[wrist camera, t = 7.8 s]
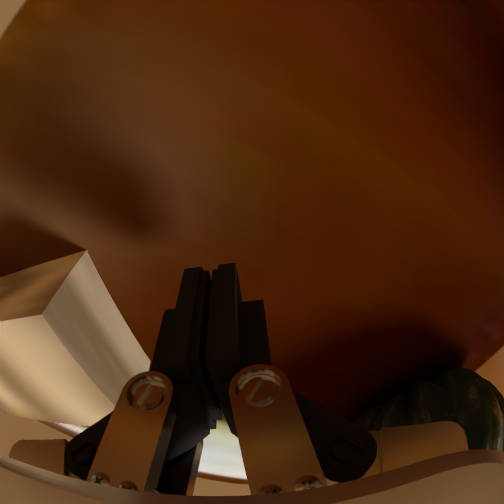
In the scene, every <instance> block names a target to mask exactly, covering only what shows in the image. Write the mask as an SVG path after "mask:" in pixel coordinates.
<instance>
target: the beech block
mask: <svg viewBox="0 0 504 504" xmlns="http://www.w3.org/2000/svg"><path fill="white" fill-rule="evenodd" d="M149 367H150V360H149V359H148V357H147V356H146V354H145V353H144V351H143V350H142V348H141V346H140V345H139V343H138V342H137V340H136V339H135V337H134V335H133V334H132V332H131V331H130V329H129V327H128V326H127V324H126V322H125V321H124V319H123V317H122V316H121V314H120V312H119V310H118V309H117V307H116V305H115V303H114V302H113V300H112V298H111V296H110V295H109V293H108V291H107V289H106V287H105V285H104V283H103V282H102V280H101V278H100V276H99V274H98V272H97V270H96V268H95V266H94V264H93V262H92V260H91V258H90V256H89V254H88V252H87V250H85V251H82V252H79V253H75V254H72V255H69V256H65V257H62V258H59V259H55V260H52V261H49V262H46V263H42V264H39V265H36V266H33V267H30V268H27V269H24V270H21V271H18V272H15V273H11V274H8V275H5V276H2V277H0V409H1V410H2V411H3V412H5V413H6V414H9V415H14V416H19V417H25V418H30V419H36V420H42V421H49V422H57V423H65V424H74V425H86V426H92V425H93V424H95V423H96V422H98V421H99V420H100V419H102V418H103V417H105V416H106V415H108V414H109V413H111V412H112V411H113V410H114V408H115V406H116V403H117V401H118V398H119V396H120V394H121V391H122V389H123V387H124V386H125V384H126V383H127V382H128V381H129V380H130V379H131V378H132V377H133V376H135V375H137V374H139V373H142V372H146V371H149Z"/></svg>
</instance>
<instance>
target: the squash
mask: <svg viewBox="0 0 504 504" xmlns="http://www.w3.org/2000/svg"><path fill="white" fill-rule="evenodd" d="M440 421H452V422H455V423H457V424H459V425H460V426H461V427H462V428H463V429H464V432H465V434H466V438H467V444H468V450H497V451H501V452H504V398H503V396H502V394H500V392H499V391H498V390H497V388H496V387H495V386H494V385H493V384H492V383H491V382H489V381H488V380H486V379H484V378H482V377H481V376H480V375H478V374H477V373H476V372H474V371H472V370H470V369H466V368H454V369H451V370H447V371H444V372H442V373H441V374H439V375H437V376H436V377H435V378H434V379H433V380H432V381H431V382H428V381H422V382H419V383H417V384H415V385H414V386H412V388H411V390H410V391H409V394H408V396H407V395H405V394H399V395H396V396H395V397H393V398H391V399H390V400H389V401H388V402H387V403H384V404H379V405H376V406H374V407H371V408H369V409H367V410H366V411H364V412H362V413H361V414H360V415H359V416H358V417H357V418H356V419H355V420H354V421H353V423H354V424H356V425H358V426H360V427H362V428H364V429H365V430H367V431H379V430H381V428H384V427H397V426H408V425H417V424H426V423H433V422H440Z"/></svg>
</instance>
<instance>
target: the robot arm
mask: <svg viewBox="0 0 504 504" xmlns="http://www.w3.org/2000/svg"><path fill="white" fill-rule="evenodd" d="M222 411H223V413H224V416H225V418H226V421H227V423H228V426H229V428H230V431H231V433H232V434H234V435H235V436H236V437H238V440H239V444H240V449H241V453H242V458H243V462H244V467H245V471H246V475H247V480H248V484H249V488H250V492H251V495H249V496H248V495H247V496H193V491H194V486H195V481H196V477H197V472H198V467H199V463H200V458H201V453H202V449H203V439H204V438H205V437H206V436H208V435H209V434H210V429H216V420H222ZM0 504H504V452H501V451H497V450H468V444H467V438H466V434H465V432H464V429H463V428H462V427H461V426H460V425H459V424H457V423H455V422H452V421H440V422H433V423H426V424H417V425H408V426H397V427H384V428H381V430H379V431H367V430H365V429H364V428H362V427H360V426H358V425H356V424H354V423H352V422H350V421H348V420H346V419H344V418H342V417H340V416H338V415H336V414H334V413H333V412H331V411H329V410H327V409H325V408H323V407H321V406H319V405H317V404H316V403H314V402H312V401H310V400H308V399H307V398H305V397H303V396H301V395H299V394H298V393H296V392H294V391H292V388H291V386H290V383H289V380H288V378H287V377H286V375H285V373H283V372H282V371H281V370H280V369H278V368H276V367H274V366H271V358H270V350H269V342H268V334H267V326H266V318H265V310H264V303H263V300H255V301H247V302H242V297H241V291H240V285H239V279H238V273H237V267H236V263H230V264H221V265H219V267H218V269H217V270H213V272H212V282H211V278H210V274H209V271H203V269H202V267H196V268H188V269H185V270H184V273H183V277H182V282H181V286H180V290H179V295H178V299H177V303H176V308H175V309H167V310H166V311H165V312H164V315H163V319H162V323H161V327H160V331H159V335H158V339H157V344H156V348H155V352H154V356H153V361H152V365H151V370H150V371H146V372H142V373H139V374H137V375H135V376H133V377H132V378H131V379H130V380H129V381H128V382H127V383H126V384H125V386H124V387H123V389H122V391H121V394H120V396H119V398H118V401H117V403H116V406H115V408H114V410H113V411H112V412H111V413H109V414H108V415H106V416H105V417H103V418H102V419H100V420H99V421H98V422H96V423H95V424H93V425H92V426H90V427H89V428H87V429H86V430H84V431H83V432H81V433H80V434H78V435H77V436H75V437H74V438H73V439H72V440H71V441H70V442H68V441H67V440H66V439H53V440H20V441H18V442H16V443H15V444H14V445H13V446H12V448H11V450H10V453H9V458H8V457H5V456H2V455H0Z"/></svg>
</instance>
